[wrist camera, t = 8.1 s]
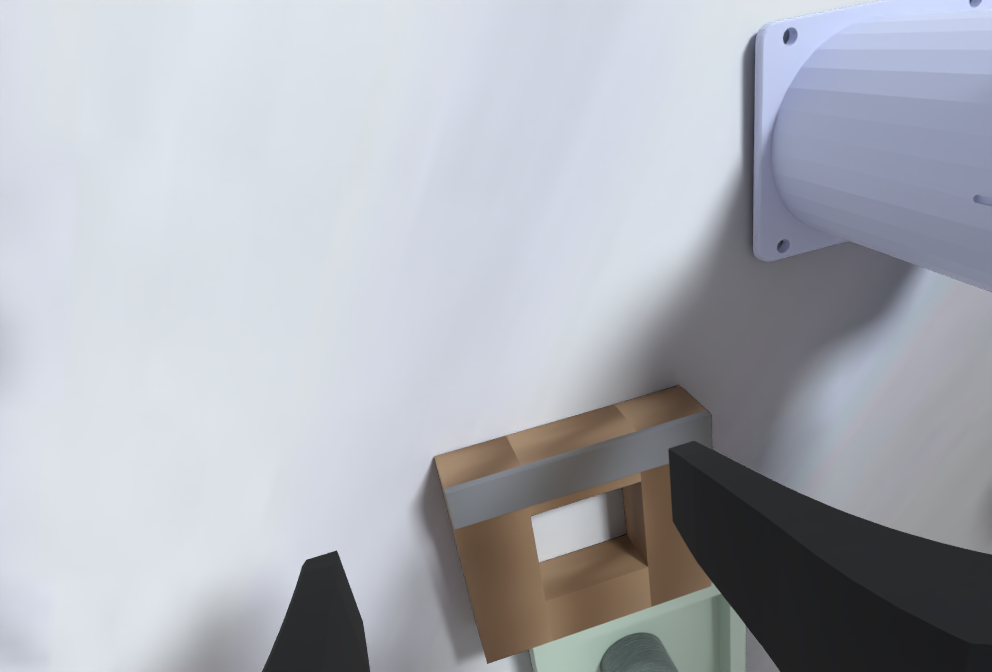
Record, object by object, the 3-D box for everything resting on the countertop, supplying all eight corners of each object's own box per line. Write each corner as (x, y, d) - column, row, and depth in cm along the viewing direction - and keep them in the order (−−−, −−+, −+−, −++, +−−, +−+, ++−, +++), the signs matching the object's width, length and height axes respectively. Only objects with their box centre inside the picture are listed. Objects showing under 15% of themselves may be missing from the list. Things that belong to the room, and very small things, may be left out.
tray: (727, 548, 30) (746, 572, 29) (728, 689, 35) (745, 714, 33) (522, 618, 29) (532, 646, 27) (550, 756, 33) (560, 785, 32)
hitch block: (679, 385, 26) (711, 414, 24) (687, 554, 30) (715, 591, 28) (434, 456, 24) (445, 494, 22) (476, 624, 28) (489, 670, 26)
